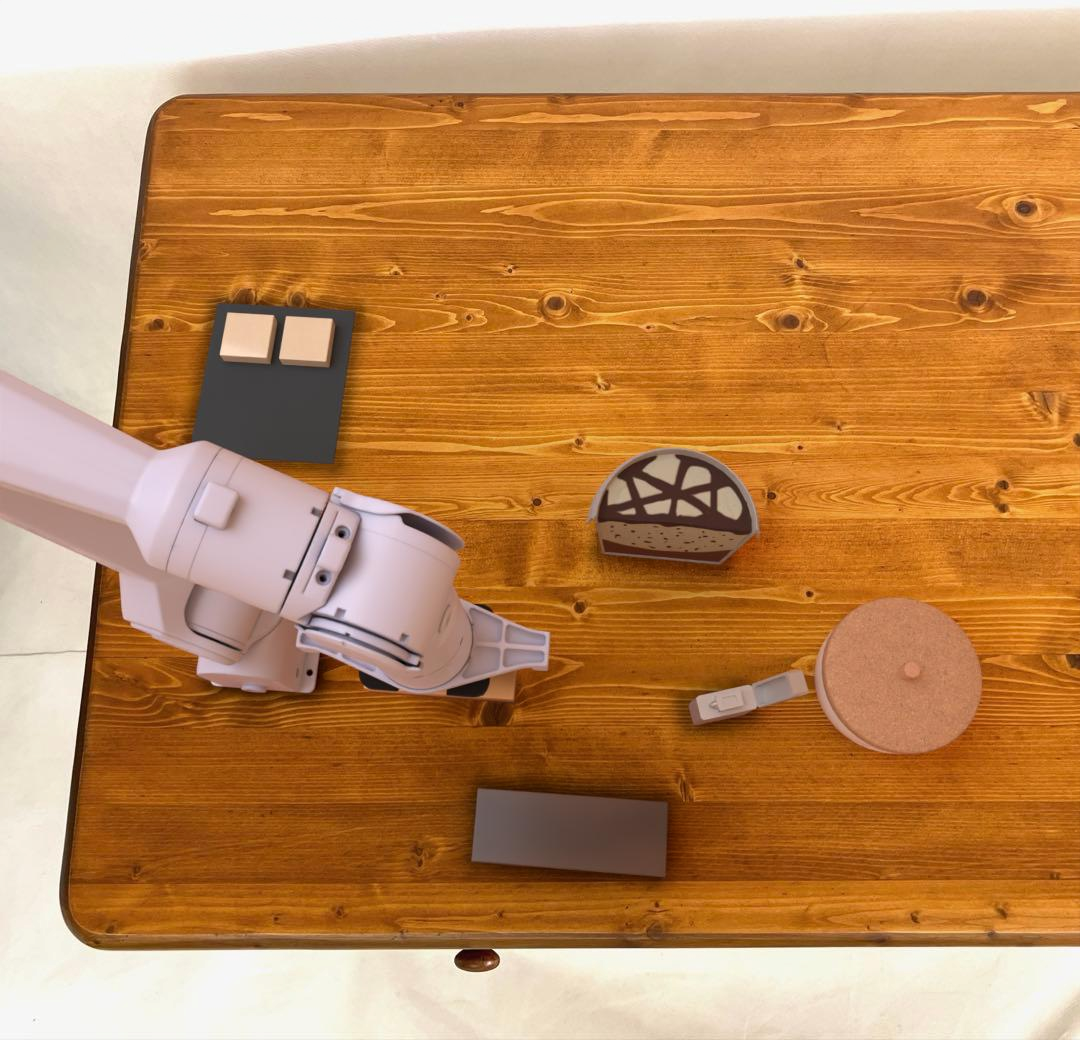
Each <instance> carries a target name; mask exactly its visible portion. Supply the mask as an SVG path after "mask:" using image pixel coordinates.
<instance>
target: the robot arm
mask: <svg viewBox="0 0 1080 1040" xmlns="http://www.w3.org/2000/svg"><path fill="white" fill-rule="evenodd" d="M0 520H2V521H3V522H6V523H9V524H11V525H13V526H15V527H18V528H20V529H22V530H24V531H26V532H29V533H31V534H33V535H35V536H38V537H40V538H42V539H44V540H47V541H49V542H50V543H53V544H55V545H57V546H59V547H62V548H64V549H66V550H68V551H71V552H73V553H75V554H77V555H80V556H82V557H84V558H87V559H89V560H91V561H93V562H95V563H98V564H99V565H102V566H104V567H107V568H108V569H111V570H113V571H115V572H118V576H119V591H120V604H121V605H120V606H121V613H122V618H123V620H124V621H127V622H129V623H130V627H132V628H133V629H136V630H138V631H141V632H143V633H146V634H148V635H150V637H151V638H152V639H154V640H157V641H159V642H161V643H164V644H166V645H168V646H170V647H171V646H172V647H174V648H175V649H176V648H177V649H179V650H181V651H184V652H187V653H190V654H192V655H194V656H198V659H197V664H196V665H197V666H196V676H197V677H199V678H201V679H203V680H207V681H209V682H210V683H211V685H213V686H214V687H221V688H234V689H235V688H236V689H241V690H242V691H245V692H249V693H250V692H251V693H261V694H262V693H263V694H264V693H267V691H274V692H289V693H290V692H291V693H301V694H302V693H304V694H310V693H312V692H314V690H315V689H316V684H317V676H318V669H319V662H320V654H323V655H324V656H325V655H326V656H327V657H331V658H333V659H335V660H336V661H339V662H341V663H343V664H345V665H348V666H349V667H351V668H354V669H356V670H358V678H359V681H360V682H361V684H362V685H363V686H365V687H367V688H369V689H372V690H384V691H399V689H401V690H403V691H406V692H409V693H414V694H431V693H436V692H439V691H443V690H447V692H446V695H447V696H460V697H480V696H483V695H484V694H485V693H486V691H487V689H488V687H489V684H490V677H493V676H497V675H500V674H504V673H507V672H511V671H515V670H518V671H519V670H523V669H531V670H533V671H541V672H547V671H548V670H549V661H550V651H551V650H550V648H551V632H550V631H546V630H540V629H539V630H538V629H533V628H529V627H527V626H523V625H522V624H518V623H517V622H514V621H511V620H509V619H507V618H505V617H503V616H501V615H498V614H496V613H495V612H494V610H493V609H492V608H491V607H490V606H489V605H486V604H484V603H477V602H476V603H474V602H469V601H467V600H465V599H463V598H461V597H460V596H459V594H458V592H457V590H456V588H455V586H454V580H455V578H456V576H457V572H458V570H459V568H460V565H461V563H462V559H461V558H462V557H460V555H459V554H458V553H457V552H456V551H461V550H463V549H464V548H465V547H466V541H465V540H464V539H463V538H462V537H461V536H460V535H459V534H458V533H457V532H456V531H454V530H452V529H451V528H450V527H448V526H447V525H445V524H444V523H443V524H442V523H441V522H439V521H437V520H435V519H434V518H432V517H429V516H427V515H425V514H423V513H421V512H419V511H417V510H414V509H411V508H409V507H406V506H403V505H400V504H397V503H394V502H391V501H389V500H388V501H387V500H384V499H380V498H377V497H372V496H367V495H363V494H360V493H357V492H354V491H351V490H348V489H346V488H341V487H339V486H334V488H333V490H332V491H331V494H330V492H328V491H325V490H323V489H321V488H318V487H316V486H314V485H311V484H309V483H307V482H304V481H302V480H300V479H297V478H295V477H292V476H290V475H288V474H285V473H283V472H281V471H279V470H276V469H274V468H271V467H269V466H267V465H264V464H262V463H259V462H257V461H256V460H255V461H254V459H248V458H245V457H243V456H241V455H239V454H236V453H234V452H232V451H229V450H227V449H225V448H222V447H220V446H218V445H215V444H213V443H210V442H208V441H197V442H193V443H191V442H189V443H186V444H182V445H178V446H175V447H171V448H167V449H157V448H155V447H153V446H151V445H149V444H147V443H145V442H143V441H141V440H139V439H137V438H135V437H133V436H132V435H129V434H128V433H125V432H124V431H121V430H120V429H118V428H115V427H114V426H112V425H110V424H108V423H106V422H105V421H102V420H100V419H99V418H97V417H94V416H92V415H91V414H88V413H87V412H85V411H82V410H81V409H79V408H77V407H75V406H73V405H71V404H69V403H67V402H65V401H63V400H62V399H59V398H58V397H55V396H53V395H52V394H49V393H48V392H46V391H44V390H42V389H40V388H38V387H35V386H34V385H32V384H30V383H28V382H26V381H24V380H23V379H20V378H19V377H17V376H14V375H12V374H10V373H8V372H7V371H5V370H3V369H1V368H0ZM309 671H311V672H312V674H311V675H308V672H309Z"/></svg>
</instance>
